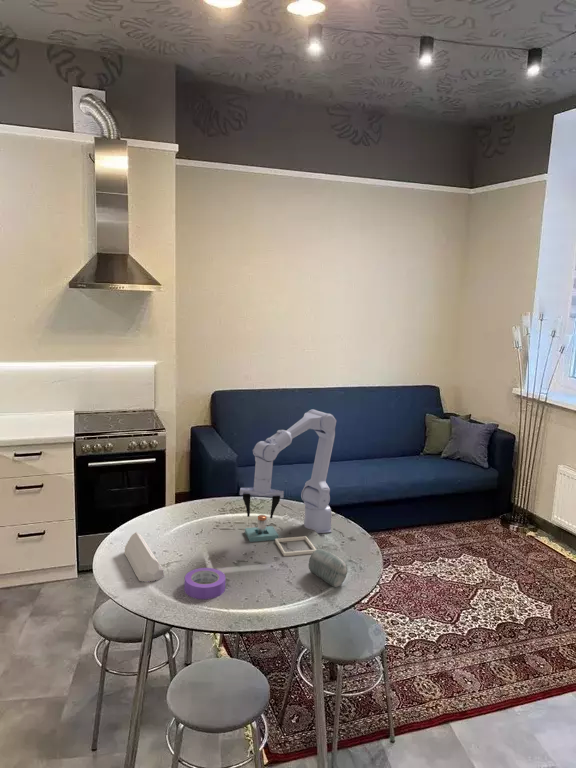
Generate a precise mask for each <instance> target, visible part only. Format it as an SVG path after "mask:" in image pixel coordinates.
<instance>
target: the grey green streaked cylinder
mask: <svg viewBox="0 0 576 768" xmlns="http://www.w3.org/2000/svg"><path fill="white" fill-rule="evenodd" d="M316 549H317V550H315V551H314V552H313V553H312V554H310V557H309V560H308V569H309V571H310V573H311V574H313V575H315V576H316V577H318V578H320V579H321V580H323V581H324V582H326V583H327V584H329V585H330V586H332V587H339V586H341V585H342V584H343V583H344V581H345V580H346V578H347V574H348V566H347V564H346V562H345V561H344V560H343V559H342V558H341V557H339V556H338V555H336V554H334V553H332V552H330V551H329V550H325V549H322V548H316Z"/></svg>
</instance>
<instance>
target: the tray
mask: <svg viewBox="0 0 576 768" xmlns="http://www.w3.org/2000/svg"><path fill="white" fill-rule="evenodd" d="M296 541H305V542H306V543H307V544H308V546H309V547H310V548H311V549H308V550H295V551H285V550H284V548H283V546H282V544H281V543H286V542H296ZM274 543H275V544H276V545H277V547H278V549H279V551H280V552H281V553H282V555H283V557H291V556H293V557H294V556H301V555H312V553H313V552H314V551H315V550H317V549H318V548H316V547H315V546H314V544H313V543H312V541H311V540H310V539H309V538H308V537H307V535H304V536H294V537H293V536H291V537H281V538H278V539H275V540H274Z"/></svg>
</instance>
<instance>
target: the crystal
mask: <svg viewBox="0 0 576 768" xmlns="http://www.w3.org/2000/svg"><path fill="white" fill-rule="evenodd" d="M123 553H124V555H125V556H126V557H125V558H126V559H127V560H128V562H129V565H130V566H131V568H132V570H133V572H134V574H135V575H136V577H137V579H138V581H140V582H143V581H149V582H148V583H150V581H151V582H155V580H156V581H159V580H161V579H162V578H163V577H164V576H165V572H164V569H163V567H162V565H161V564H160V562H159V561H158V559H157V558H156V556H155V554H154V553H153V552H152V550H151V548H150V546H149V545H148V544H147V542H146V540H145V539H144V537H143V536H142V535H141V534H140V533H138V532H137V531H136V532H134V533H133V534H131V536H130V538H129V539H128V541H127V543H126V544H125V547H124V552H123ZM158 579H159V580H158Z"/></svg>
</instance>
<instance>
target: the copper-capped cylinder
mask: <svg viewBox="0 0 576 768" xmlns="http://www.w3.org/2000/svg"><path fill="white" fill-rule="evenodd" d="M267 518H268V516H267V515H264V514H260V515H257V526H256V527H257V535H259V534H266V527H267Z"/></svg>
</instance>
